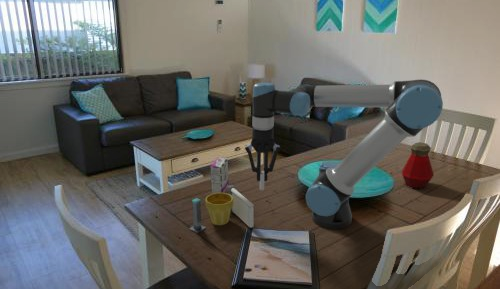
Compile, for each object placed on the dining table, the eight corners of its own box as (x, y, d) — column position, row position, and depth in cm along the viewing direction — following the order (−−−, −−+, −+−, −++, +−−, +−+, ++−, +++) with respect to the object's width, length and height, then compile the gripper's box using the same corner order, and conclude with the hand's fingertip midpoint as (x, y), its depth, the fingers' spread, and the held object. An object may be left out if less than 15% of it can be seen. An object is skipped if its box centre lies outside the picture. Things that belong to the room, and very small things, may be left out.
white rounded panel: (227, 207, 157) (226, 185, 154) (233, 206, 158) (232, 184, 155) (248, 228, 142) (248, 204, 139) (254, 226, 143) (255, 202, 140)
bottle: (422, 194, 171) (428, 151, 164) (393, 185, 180) (398, 144, 174) (437, 185, 180) (444, 144, 174) (410, 176, 190) (415, 137, 184)
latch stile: (206, 228, 143) (204, 199, 140) (197, 233, 140) (196, 203, 136) (197, 224, 146) (196, 196, 142) (189, 229, 143) (187, 200, 139)
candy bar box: (218, 191, 174) (217, 157, 169) (229, 192, 173) (228, 157, 168) (211, 202, 164) (209, 166, 159) (222, 203, 163) (221, 167, 158)
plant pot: (211, 230, 142) (210, 206, 139) (203, 217, 151) (202, 195, 148) (237, 224, 146) (237, 201, 143) (227, 212, 155) (227, 190, 152)
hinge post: (239, 209, 157) (239, 191, 155) (232, 213, 154) (231, 194, 151) (231, 206, 160) (230, 188, 157) (224, 210, 157) (223, 191, 154)
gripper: (280, 124, 139) (278, 184, 147) (244, 124, 139) (243, 184, 146) (282, 130, 132) (280, 192, 140) (244, 130, 132) (244, 193, 139)
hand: (261, 188), depth 143 cm, fingers closed
